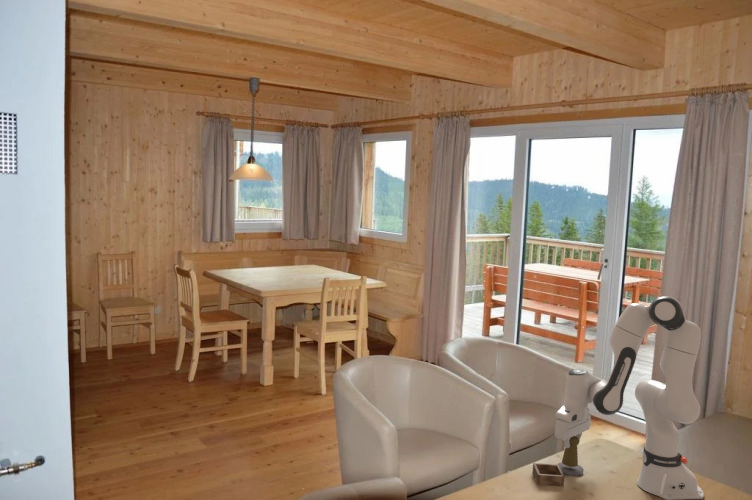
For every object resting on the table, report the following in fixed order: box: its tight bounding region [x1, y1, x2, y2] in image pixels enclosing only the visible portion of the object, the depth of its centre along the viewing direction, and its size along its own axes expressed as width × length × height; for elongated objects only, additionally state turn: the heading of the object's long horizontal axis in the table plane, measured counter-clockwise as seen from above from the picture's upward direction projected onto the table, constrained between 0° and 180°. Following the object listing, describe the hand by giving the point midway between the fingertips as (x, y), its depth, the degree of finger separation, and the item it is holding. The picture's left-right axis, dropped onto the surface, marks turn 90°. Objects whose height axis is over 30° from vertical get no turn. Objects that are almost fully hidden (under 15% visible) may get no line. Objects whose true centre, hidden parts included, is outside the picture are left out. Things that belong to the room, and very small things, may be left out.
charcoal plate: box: [557, 461, 585, 477], centre depth 242 cm, size 10×10×1 cm
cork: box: [561, 435, 580, 467], centre depth 241 cm, size 6×6×11 cm
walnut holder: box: [532, 462, 566, 488], centre depth 234 cm, size 10×10×4 cm
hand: (571, 445), depth 241 cm, fingers closed on cork, 5 cm apart
